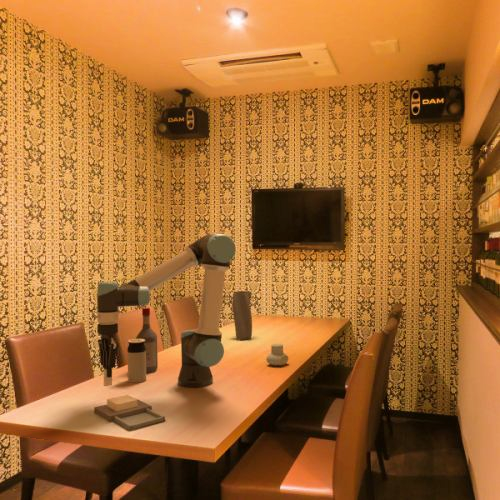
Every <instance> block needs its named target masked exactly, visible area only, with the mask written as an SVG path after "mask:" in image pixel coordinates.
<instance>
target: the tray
mask: <svg viewBox="0 0 500 500" xmlns="http://www.w3.org/2000/svg"><path fill="white" fill-rule="evenodd" d="M113 422H115V423H117V425H120V426H122V427H123V428H125V429H127V430H128V431H129V432H130V431H134V430H138V429H142V428H145V427H149V426H152V425H156V424H157V425H158V424H160V423H164V422H166V416H165V415H162V414H161V413H158V412H157V411H154V410H153V409H152V410H150V409H146V412H144V413H140V414H136V415H132V416H128V417H124V418H118V417H117V416H115V417H114V421H113Z"/></svg>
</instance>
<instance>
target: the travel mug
mask: <svg viewBox="0 0 500 500" xmlns="http://www.w3.org/2000/svg"><path fill="white" fill-rule="evenodd" d="M144 342H145V340H144V339H136V338H133V339H128V340H127V343H128V346H127V349H126V350H127V382H130V383H142V382H145V381H147V373H146V347H145V345H144Z"/></svg>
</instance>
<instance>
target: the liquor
mask: <svg viewBox="0 0 500 500" xmlns="http://www.w3.org/2000/svg"><path fill="white" fill-rule="evenodd" d="M141 312H142V313H141V314H142V315H141V316H142V327H141V330H140V331H139V332H138V334H137V335H136V337H135V339H144V340H145V342H144V345H145V347H146V374H148V373H149V374H151V373H155V372H156V371H157V369H158V368H159V366H158V364H159V363H158V335H157V333H156V332H155V330H153V328H151V323H150V322H151V320H150V319H151V318H150V317H151V308H150V307H143V308H142V309H141Z"/></svg>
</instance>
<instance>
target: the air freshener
mask: <svg viewBox="0 0 500 500" xmlns="http://www.w3.org/2000/svg"><path fill="white" fill-rule="evenodd" d="M270 348H271V351H270V352H271V353H268V354H267V356H266V362H267V363H268V364H269V365H271V366H273V365H274V366H273V367H282V366H281V365H283V366H284V365H286V364H287V363H288V361H289V356H288V355H287V353H284V344H283V343H273V344H271V345H270Z"/></svg>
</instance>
